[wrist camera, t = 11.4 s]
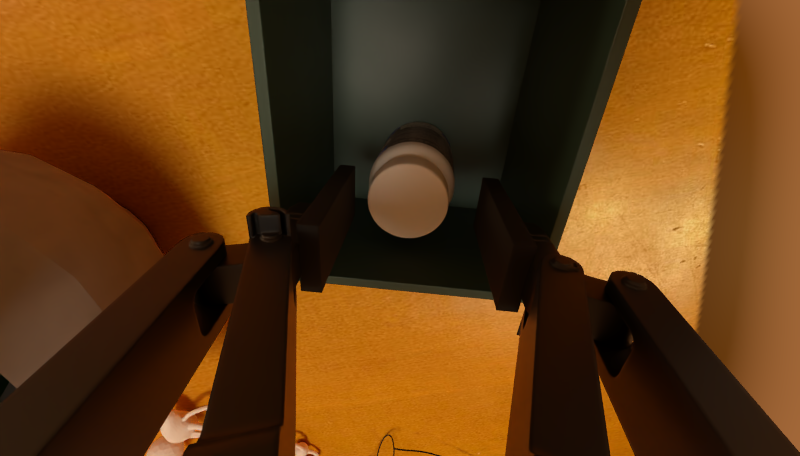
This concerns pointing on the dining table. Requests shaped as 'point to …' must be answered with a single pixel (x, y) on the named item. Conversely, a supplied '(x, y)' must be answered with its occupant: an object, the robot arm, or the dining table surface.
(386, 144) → the pill bottle
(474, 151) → the open dark green box
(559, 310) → the robot arm
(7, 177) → the flower arrangement
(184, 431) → the tangled rod sculpture
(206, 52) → the dining table surface
